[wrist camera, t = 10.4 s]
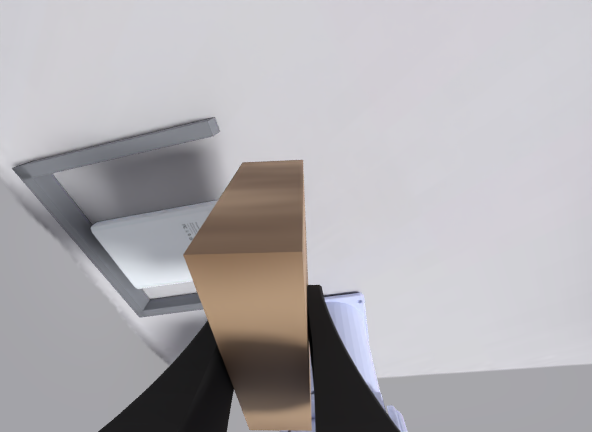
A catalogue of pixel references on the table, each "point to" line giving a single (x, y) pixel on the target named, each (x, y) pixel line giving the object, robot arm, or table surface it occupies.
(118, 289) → the dock frame
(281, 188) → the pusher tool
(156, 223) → the external hard drive
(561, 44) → the table surface
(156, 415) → the robot arm
